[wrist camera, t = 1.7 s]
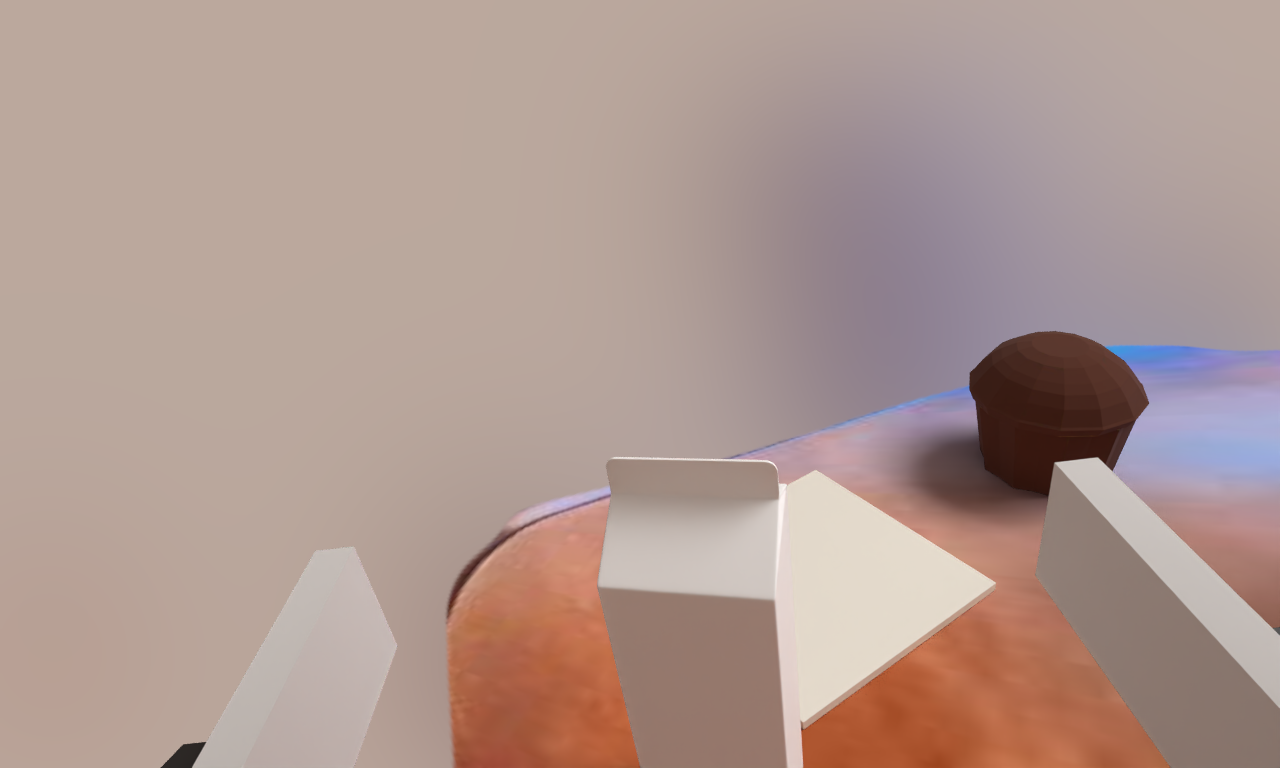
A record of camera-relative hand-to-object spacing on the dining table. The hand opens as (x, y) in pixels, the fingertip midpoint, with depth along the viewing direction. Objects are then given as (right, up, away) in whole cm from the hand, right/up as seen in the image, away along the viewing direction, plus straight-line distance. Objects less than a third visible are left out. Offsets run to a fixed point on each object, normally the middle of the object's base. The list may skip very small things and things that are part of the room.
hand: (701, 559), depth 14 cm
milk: (+4, -18, +21) cm, 28 cm away
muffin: (+30, -3, +41) cm, 51 cm away
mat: (+10, -10, +34) cm, 37 cm away
